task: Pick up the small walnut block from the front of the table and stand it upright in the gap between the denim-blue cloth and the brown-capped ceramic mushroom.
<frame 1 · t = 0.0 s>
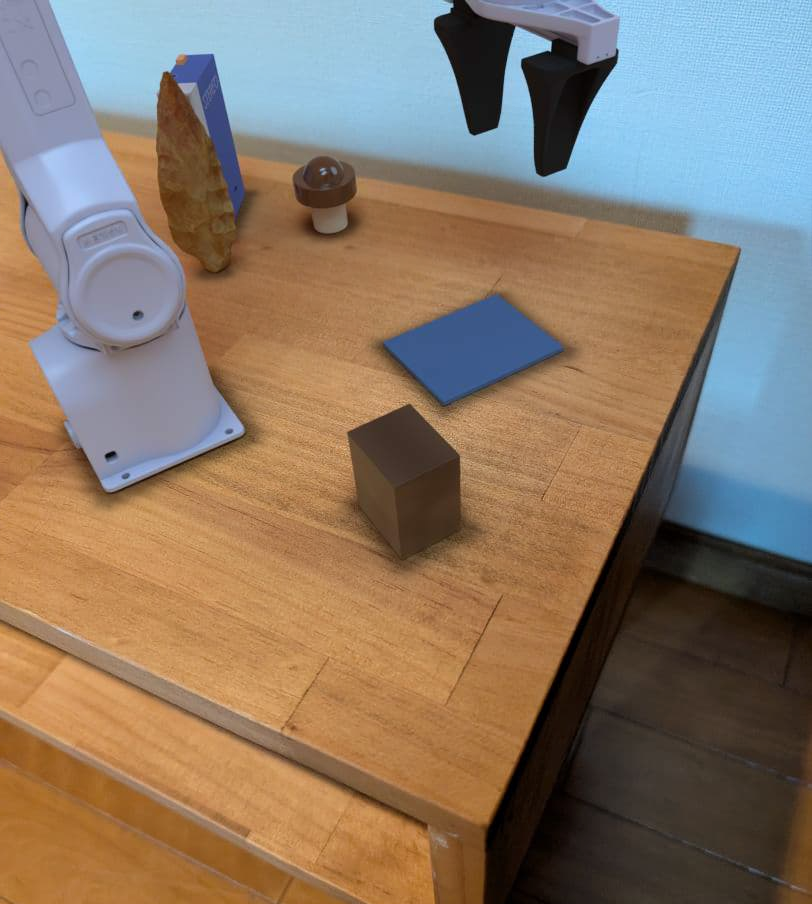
hand: (516, 149, 52), 10 cm above the table, tool pointing down, fingers open, 7 cm apart
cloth: (471, 348, 55), on the table
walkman: (223, 217, 70), on the table
mushroom: (330, 224, 67), on the table
stone tool: (216, 272, 64), on the table
block: (409, 517, 45), on the table
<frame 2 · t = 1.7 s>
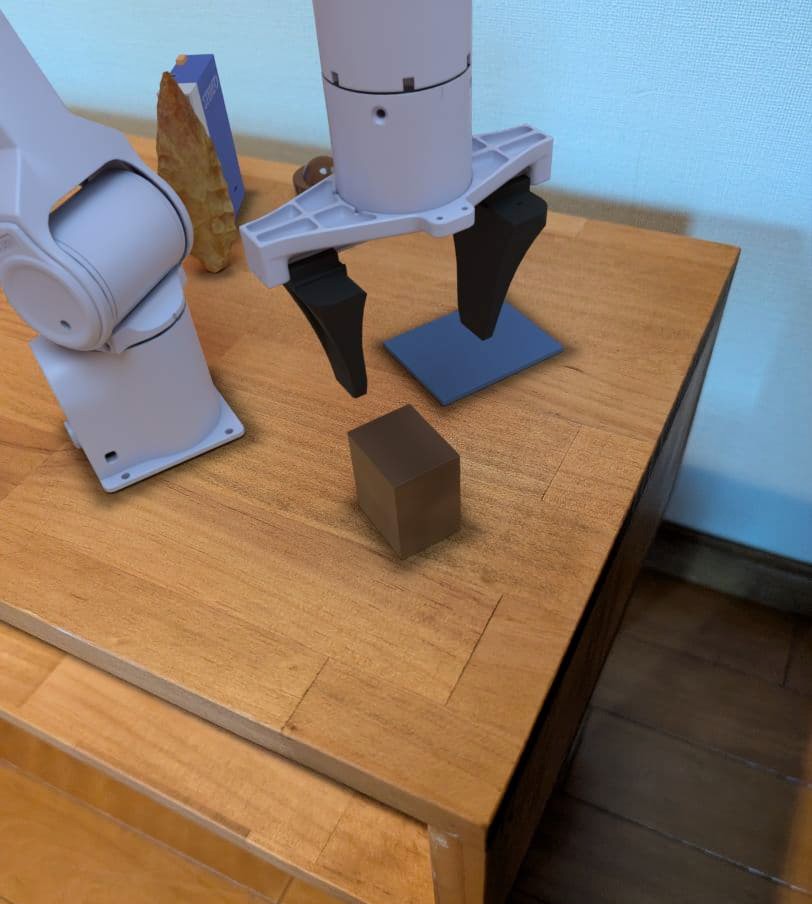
hand: (415, 357, 40), 9 cm above the table, tool pointing down, fingers open, 7 cm apart
nothing on the table moved.
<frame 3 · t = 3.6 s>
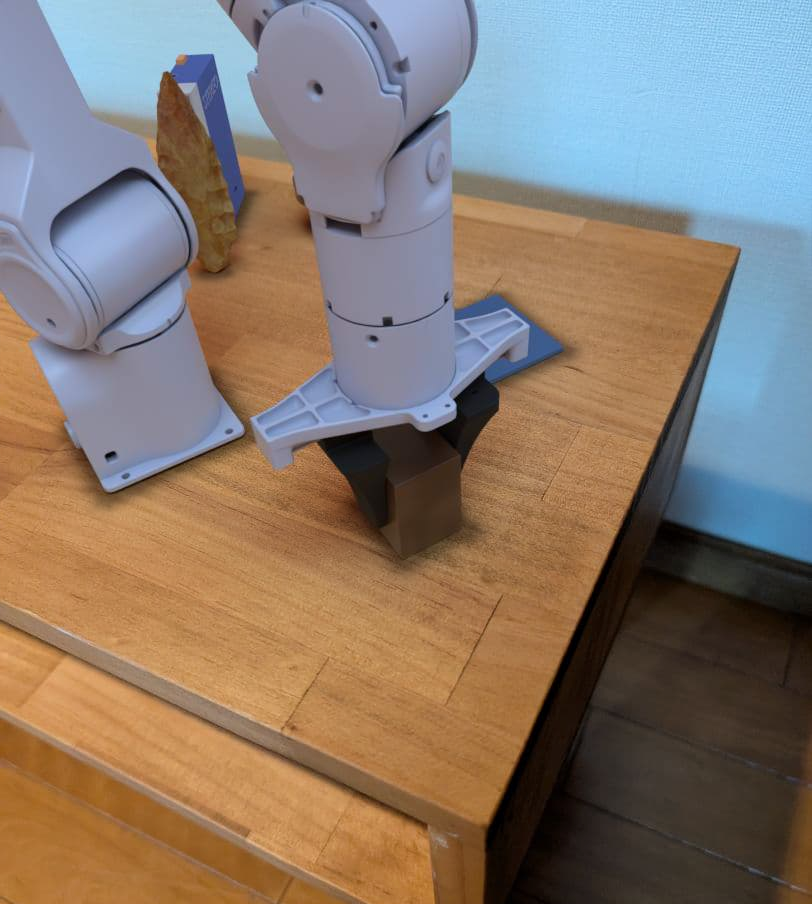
hand: (407, 499, 44), 2 cm above the table, tool pointing down, fingers closed on block, 4 cm apart
block: (409, 517, 45), on the table, touching gripper
everything else where it was.
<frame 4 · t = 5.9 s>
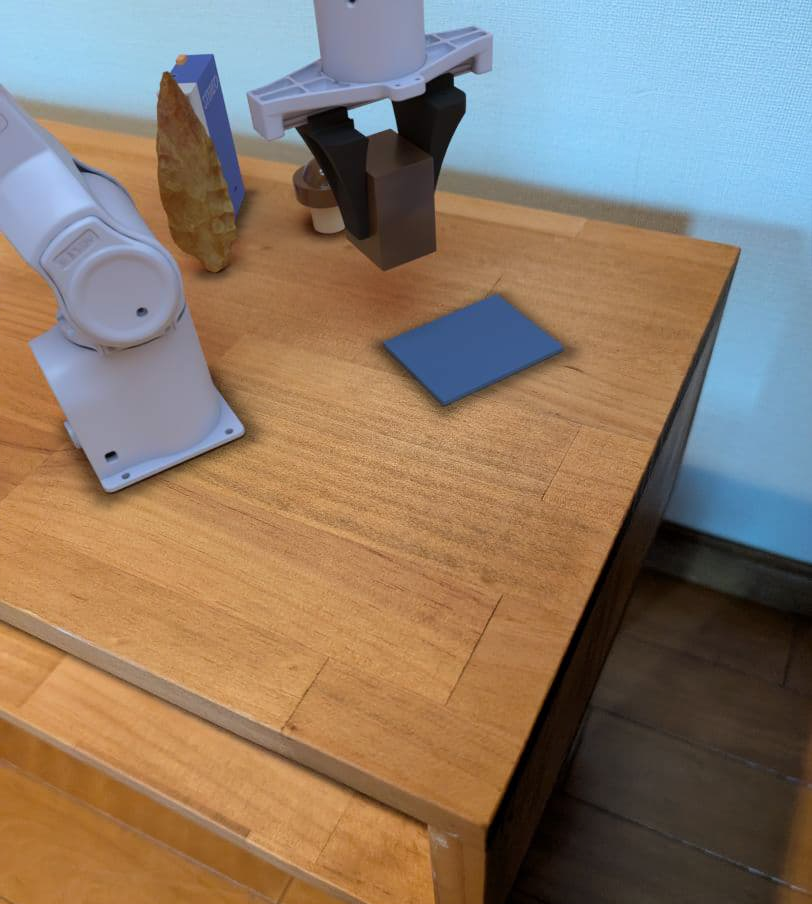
hand: (387, 221, 50), 9 cm above the table, tool pointing down, fingers closed on block, 4 cm apart
block: (390, 245, 51), point 7 cm above the table, touching gripper
everything else where it was.
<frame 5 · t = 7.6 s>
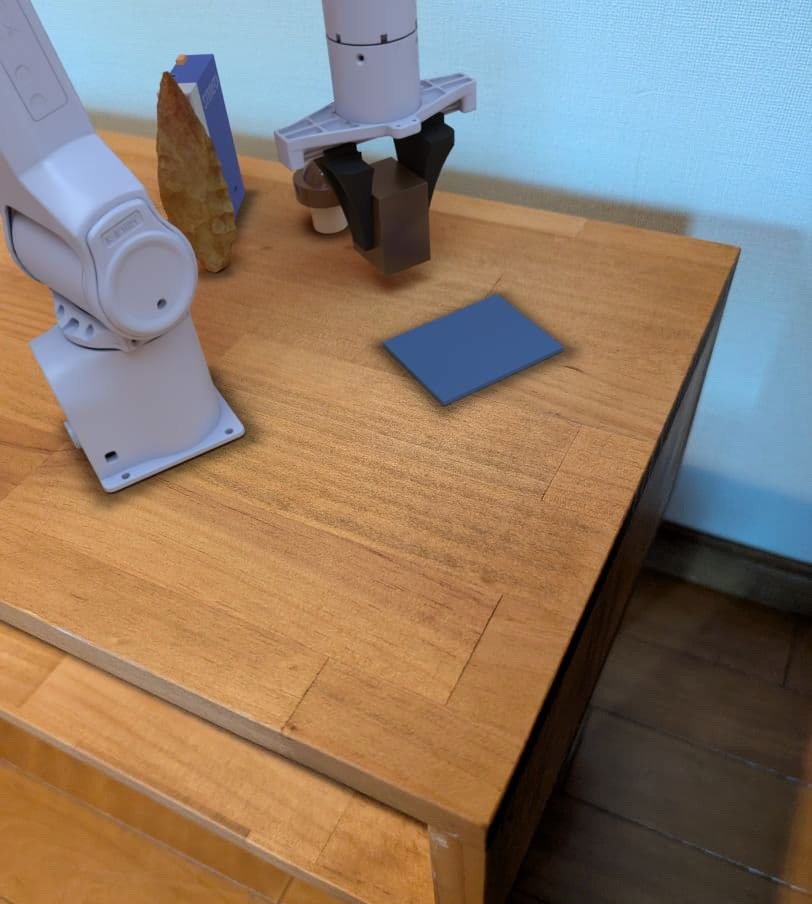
hand: (389, 234, 59), 4 cm above the table, tool pointing down, fingers closed on block, 4 cm apart
block: (391, 254, 60), point 2 cm above the table, touching gripper
everything else where it was.
when the fingers open (2 cm above the table, at t = 8.7 s): block stays where it is, on the table.
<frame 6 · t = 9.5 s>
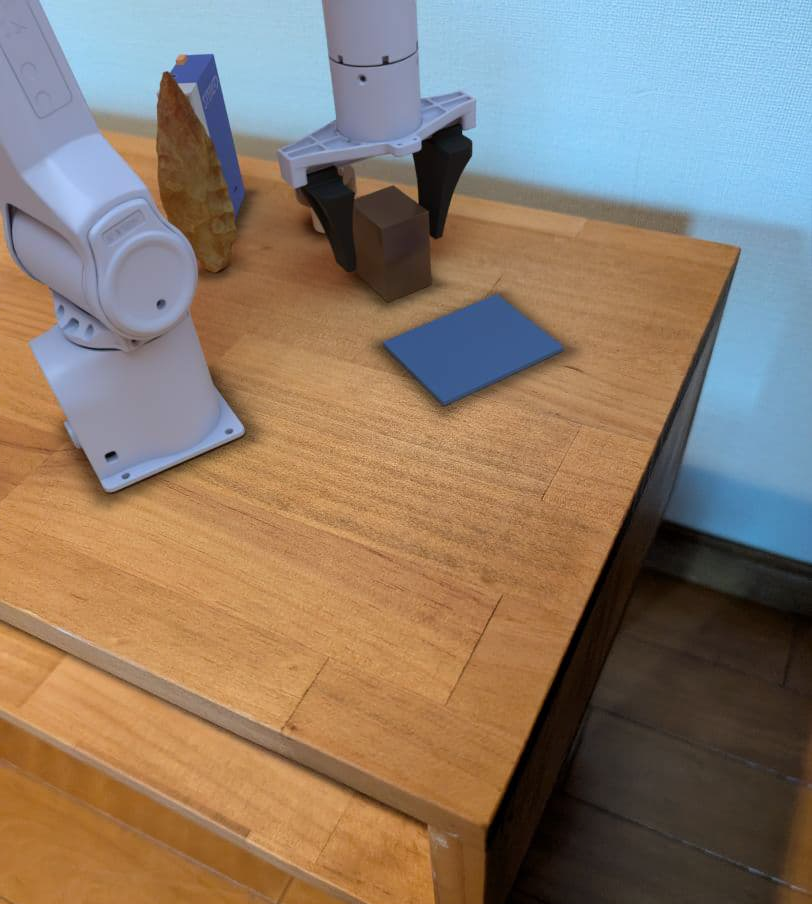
hand: (389, 249, 59), 3 cm above the table, tool pointing down, fingers open, 7 cm apart
block: (393, 279, 61), on the table
everything else where it was.
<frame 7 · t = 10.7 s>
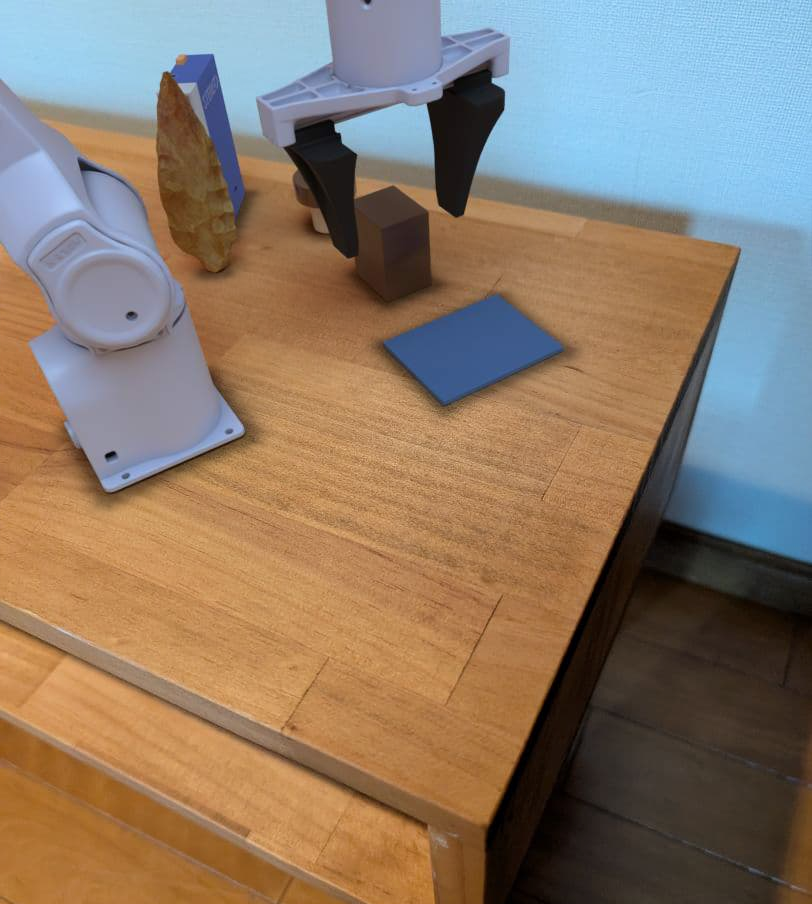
hand: (399, 229, 48), 9 cm above the table, tool pointing down, fingers open, 7 cm apart
nothing on the table moved.
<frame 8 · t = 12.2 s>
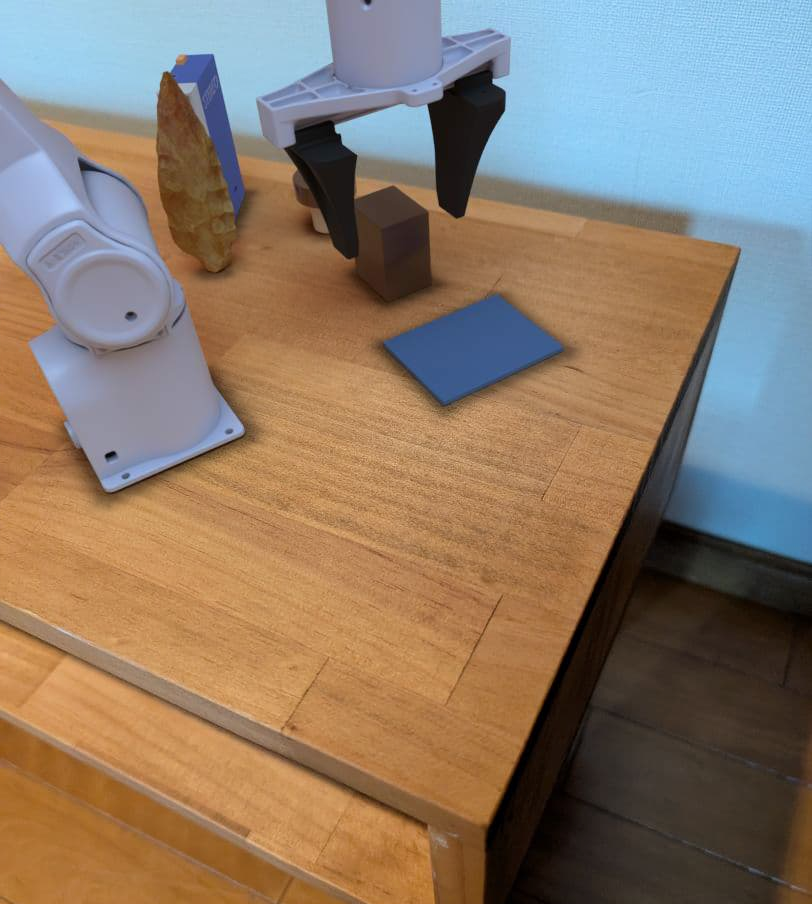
hand: (400, 230, 48), 9 cm above the table, tool pointing down, fingers open, 7 cm apart
nothing on the table moved.
at the end: block 0.1 cm from the target spot, on the table; block tilted 0°; mushroom moved 0.0 cm from its start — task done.
